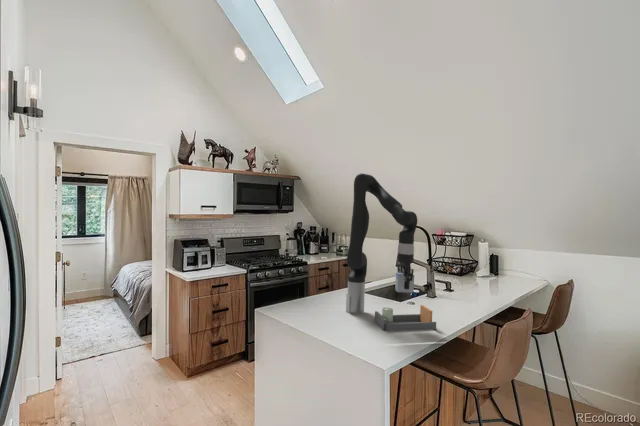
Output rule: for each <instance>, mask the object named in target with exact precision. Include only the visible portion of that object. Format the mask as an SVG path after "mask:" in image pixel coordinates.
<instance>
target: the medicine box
mask: <svg viewBox="0 0 640 426" xmlns="http://www.w3.org/2000/svg"><path fill="white" fill-rule="evenodd" d="M406 275H407V274H406ZM406 278H407V276H406ZM404 282H405V279H404V276H403V273H398V272H395V288H394V289H395V292H397V293H414V287H415V274H413V278H412V281H410V282H409V289H404Z"/></svg>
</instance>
